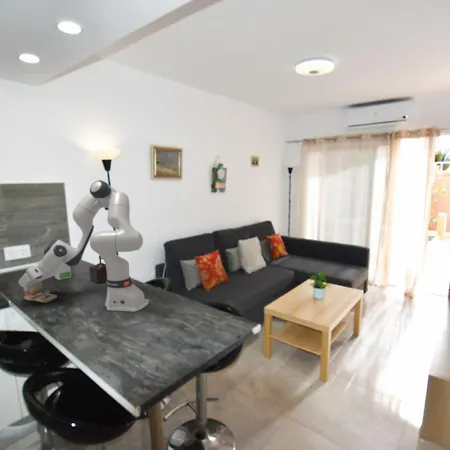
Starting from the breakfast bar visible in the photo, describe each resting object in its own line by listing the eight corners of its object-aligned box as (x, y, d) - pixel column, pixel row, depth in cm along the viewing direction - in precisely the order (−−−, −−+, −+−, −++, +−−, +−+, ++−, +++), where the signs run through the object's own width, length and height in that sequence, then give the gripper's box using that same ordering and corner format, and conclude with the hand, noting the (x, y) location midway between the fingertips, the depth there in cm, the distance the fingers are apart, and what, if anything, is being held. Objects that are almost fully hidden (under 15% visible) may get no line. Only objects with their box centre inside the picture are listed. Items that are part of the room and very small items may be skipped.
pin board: (56, 297, 163) (56, 288, 162) (46, 302, 156) (45, 293, 156) (35, 294, 167) (34, 285, 166) (24, 299, 160) (23, 289, 160)
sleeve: (42, 291, 165) (41, 276, 163) (33, 295, 159) (31, 279, 158) (34, 290, 166) (32, 275, 165) (24, 294, 160) (22, 278, 159)
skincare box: (58, 280, 191) (57, 256, 188) (54, 278, 194) (52, 255, 192) (71, 277, 197) (70, 254, 195) (67, 275, 201) (65, 252, 199)
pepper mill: (98, 284, 185) (97, 256, 182) (89, 280, 191) (87, 253, 189) (120, 278, 197) (119, 251, 194) (111, 274, 204) (110, 249, 201)
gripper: (57, 259, 168) (44, 274, 172) (24, 269, 149) (11, 286, 153) (64, 267, 168) (51, 282, 172) (31, 279, 148) (18, 295, 152)
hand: (32, 284), depth 162 cm, fingers closed on sleeve, 6 cm apart
